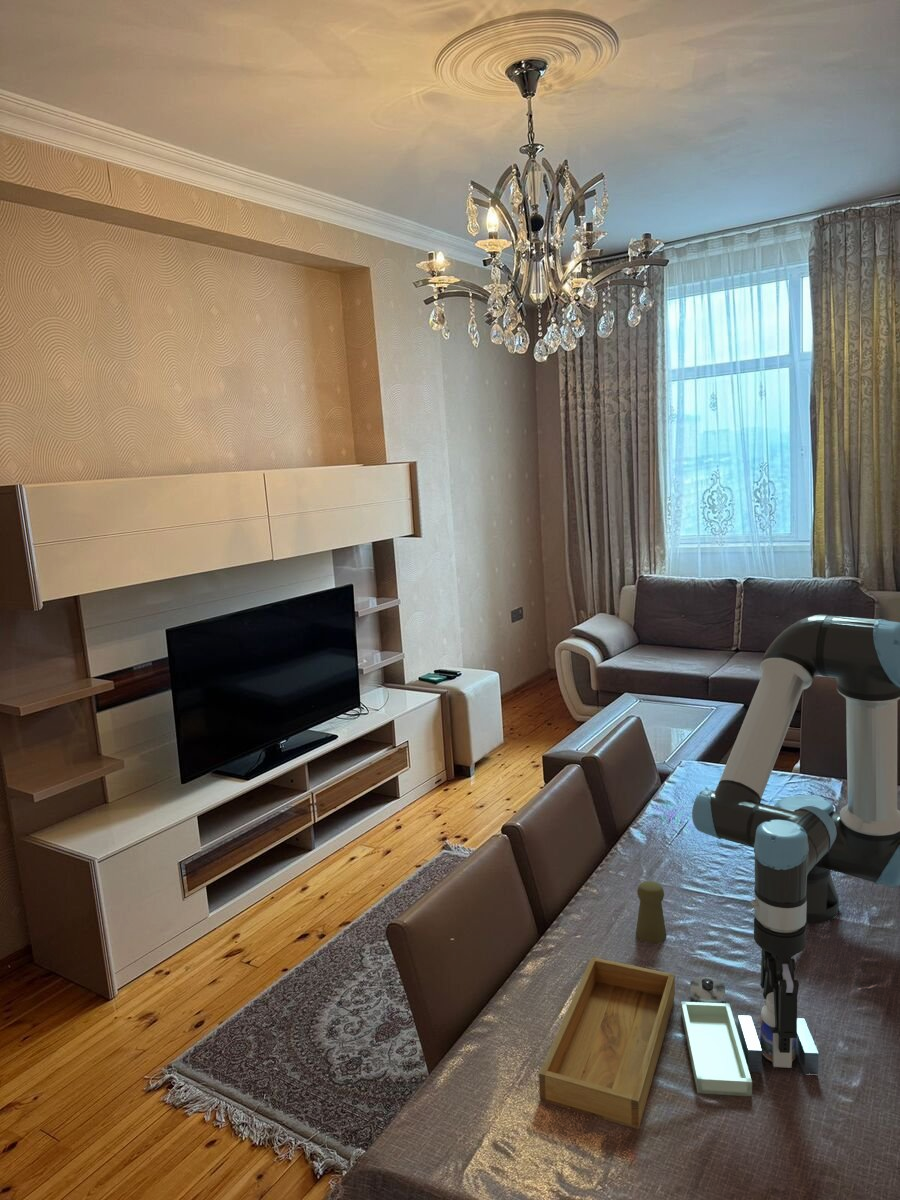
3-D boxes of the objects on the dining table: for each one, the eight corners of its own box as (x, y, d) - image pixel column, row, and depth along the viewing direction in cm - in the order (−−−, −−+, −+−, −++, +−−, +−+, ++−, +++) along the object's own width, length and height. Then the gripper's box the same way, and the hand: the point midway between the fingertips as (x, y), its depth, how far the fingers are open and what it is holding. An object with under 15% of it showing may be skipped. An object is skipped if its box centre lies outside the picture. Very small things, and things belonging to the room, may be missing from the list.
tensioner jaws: (803, 1040, 137) (804, 1018, 136) (817, 1076, 129) (818, 1053, 128) (737, 1036, 138) (738, 1015, 138) (748, 1072, 131) (748, 1049, 130)
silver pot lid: (721, 987, 151) (721, 972, 151) (728, 1009, 145) (728, 993, 145) (687, 985, 152) (687, 970, 152) (692, 1007, 146) (692, 992, 146)
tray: (639, 1132, 121) (638, 1098, 120) (539, 1103, 127) (538, 1070, 126) (675, 1002, 148) (675, 973, 147) (592, 984, 155) (591, 956, 154)
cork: (667, 944, 165) (667, 893, 163) (636, 942, 166) (635, 891, 164) (665, 927, 171) (665, 877, 169) (635, 925, 172) (634, 876, 170)
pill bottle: (754, 1043, 136) (754, 990, 135) (786, 1039, 137) (787, 986, 135) (769, 1067, 131) (770, 1012, 129) (802, 1063, 132) (803, 1008, 130)
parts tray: (729, 1016, 143) (729, 1003, 143) (751, 1096, 126) (752, 1081, 125) (681, 1014, 145) (681, 1001, 144) (697, 1093, 127) (697, 1078, 127)
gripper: (742, 888, 139) (741, 1012, 143) (768, 955, 121) (766, 1094, 125) (789, 889, 138) (786, 1013, 142) (822, 957, 120) (818, 1097, 124)
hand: (777, 1051), depth 134 cm, fingers closed on pill bottle, 5 cm apart
